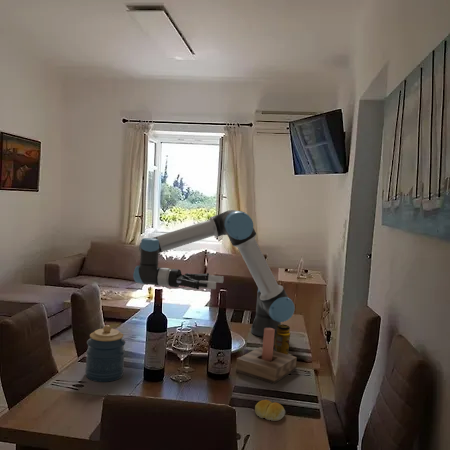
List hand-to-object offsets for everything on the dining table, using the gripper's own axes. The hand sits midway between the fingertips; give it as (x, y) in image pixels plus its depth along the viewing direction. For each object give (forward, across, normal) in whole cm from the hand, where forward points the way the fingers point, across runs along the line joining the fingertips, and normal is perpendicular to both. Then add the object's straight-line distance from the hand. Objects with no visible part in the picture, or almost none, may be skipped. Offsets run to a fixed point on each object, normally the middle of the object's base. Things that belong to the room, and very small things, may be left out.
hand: (219, 282), depth 192 cm
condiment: (+25, -10, -30) cm, 40 cm away
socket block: (+22, +12, -29) cm, 39 cm away
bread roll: (+28, +47, -30) cm, 62 cm away
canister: (-31, +38, -29) cm, 57 cm away
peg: (+22, +12, -28) cm, 38 cm away
